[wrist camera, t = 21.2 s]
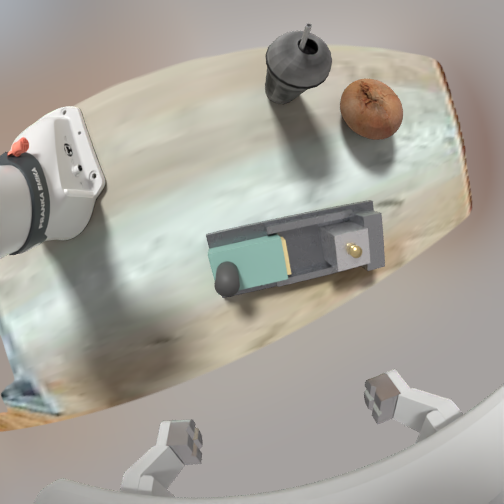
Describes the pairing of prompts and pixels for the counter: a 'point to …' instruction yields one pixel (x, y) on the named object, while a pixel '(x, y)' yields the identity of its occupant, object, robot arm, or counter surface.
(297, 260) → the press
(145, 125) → the counter surface
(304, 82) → the beverage cup
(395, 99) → the onion
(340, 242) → the housing
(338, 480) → the robot arm
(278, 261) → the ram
